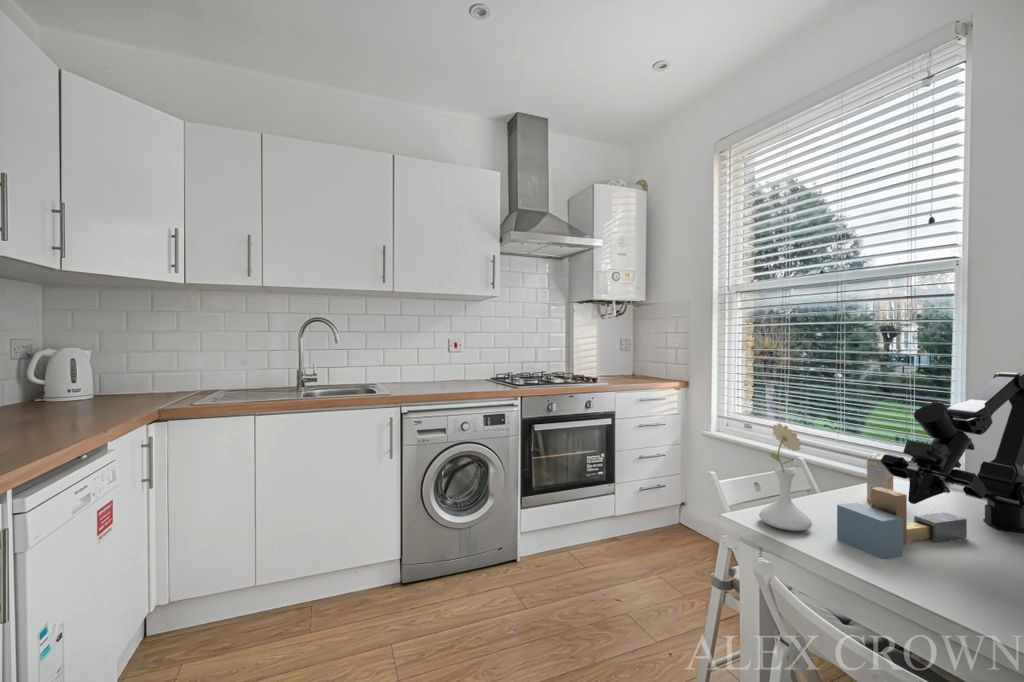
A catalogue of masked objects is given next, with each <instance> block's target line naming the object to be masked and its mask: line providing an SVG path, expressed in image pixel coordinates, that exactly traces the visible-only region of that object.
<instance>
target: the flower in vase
mask: <svg viewBox="0 0 1024 682" xmlns="http://www.w3.org/2000/svg"><path fill="white" fill-rule="evenodd" d="M771 428H772V431H773V432H772V434H773V435H774V436H775V438H776V439H777V441H778V442H779V445H778V448H777V454H776V453H775V452H774V451H772V453H771V454H770V456H769V457H770V458H771V459H773V460H775V461H777V462H779V464H780V467H774V468H773V471H774V472H775V475H776V476H777V478H778V482H779V483H778V484H779V496H778V499H777V500H776V501H774V502H772V503H770V504H769V505H767V506H765V507H764V508H762V509H761V510H760V512H759V513H758V517H759V518H760V520H761V521H762V522H764V523H765V524H768V526H769V525H770V526H771V527H774V528H777V529H781V530H784V531H792V532H793V531H794V532H797V531H798V532H800V531H801V532H802V531H806V530H809V529H810V528H811V527H812V526H813V522H812V520H811V518H810V517H809V516H808V515H807V514H806V513H805V512H804V511H803V510H802V509H800V507H798V506H797V505H796V504H795V503H794V502H793V500H792V497H791V486H792V481H793V478H794V477H795V476H796V474H797V473H798V471H796V470H794V469H790V468H785V467H784V466H783V465H786V464H788V463H790V462H792V461H794V460H795V459H794V458H792V459H791V460H788V461H786V460H785V461H784V462H783V463H782V460H781V458H780V450H781V447H782V446H783V447H785V448H787V449H788V450H791V451H794V452H796V451H797V452H798V451H801V446H802V444H801V442H800V439H799V438H798V437H797V436H798V435H797V433H796V432H793V430H792V429H790V428H789V426H787V425H784V426H783V424H781V423H776V424H773V425H772V426H771Z"/></svg>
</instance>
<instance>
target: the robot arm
mask: <svg viewBox="0 0 1024 682" xmlns="http://www.w3.org/2000/svg"><path fill="white" fill-rule="evenodd" d="M1006 402H1009V403H1010V405H1011V408H1010V411H1009V414H1008V417H1007V421H1006V423H1005V426H1004V429H1003V433H1002V436H1001V438H1000V443H999V444H998V449H997V451H996V455H995V458H993V459H992V460H991V461H983V462H981V463H980V468H979V471H978V473H977V474H976V473H975V472H970V471H966V470H962V469H960V468H961V466H962V464H961V462H960V459H961V458H962V456H963V455H964V453H965V451H967V450H971V451H974V450H975V444H974V443H973V442H972V438H971V437H969V436H968V435H967V434H973V435H979V436H982V435H983V434H985V433H986V432H987V431H988V430H989V428H990V427H991V426H992V424H993V423H994V422H993V418H992V416H993V415H994V413H995V412H997V411H998V410H999V409H1000V408H1001V407H1002V406H1003V405H1005V404H1006ZM913 413H914V414H913V417H914V420H916V422H917V423H918V424H919V426H920V427H921V428H922V429H923V430H924V432H925V433H926V435H927V436H928V437H930V438H933V439H932V441H931V443H930V444H929V443H925V442H921V441H916V440H915V441H914V440H911V439H907V440H906V442H905V445H904V449H903V451H902V453H903V454H905V455H906V454H907V455H909V456H911V461H912V462H913V463H911V462H907V460H906V459H905V458H904V457H903V456H899V455H895V454H890V453H887V454H886V453H884V454H885V455H884V456H883V457H882V459H881V460H880V462H881V463H882V464H883V465H884V466H885V468H886V469H887V470H888V471H889V472H890V474H892V475H893V477H897V478H902V479H904V480H906V479H909V486H908V487H909V489H908V498H907V500H908V501H907V502H909V503H910V504H912V505H916V504H918V503H921V502H923V501H925V500H927V499H930V498H932V497H936V496H939V495H941V494H943V493H946V494H949V493H950V492H951V490H950V488H951V486H954V485H956V486H961V487H963V488H962V491H963V492H964V494H965V495H966V496H970V497H972V498H976V499H980V500H981V499H986V503H987V504H985V505H984V518H982V520H983V522H984V523H987V524H988V523H989V524H988V525H990V526H991V527H994V528H995V529H997V530H1000V531H1008V532H1009V531H1010V532H1017V533H1024V374H1023V373H1022V372H1007V371H1006V372H1005V371H1000V372H996V373H995V374H994V375H993V379H992V380H990V381H989V382H988V383H987V384H986V385H985V386H983V387H982V389H980V390H979V391H978V392H977V393H976V394H974V395H973V396H972V397H971V398H970V399H968V400H966V401H962V402H957V403H955V404H952V405H951V406H949V407H948V408H946V405H945V404H944V403H943V402H941V401H940V402H937V401H932V402H931V403H930V404H928V405H924V406H921V407H920V408H918V409H915V411H914V412H913ZM966 433H967V434H966Z"/></svg>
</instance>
